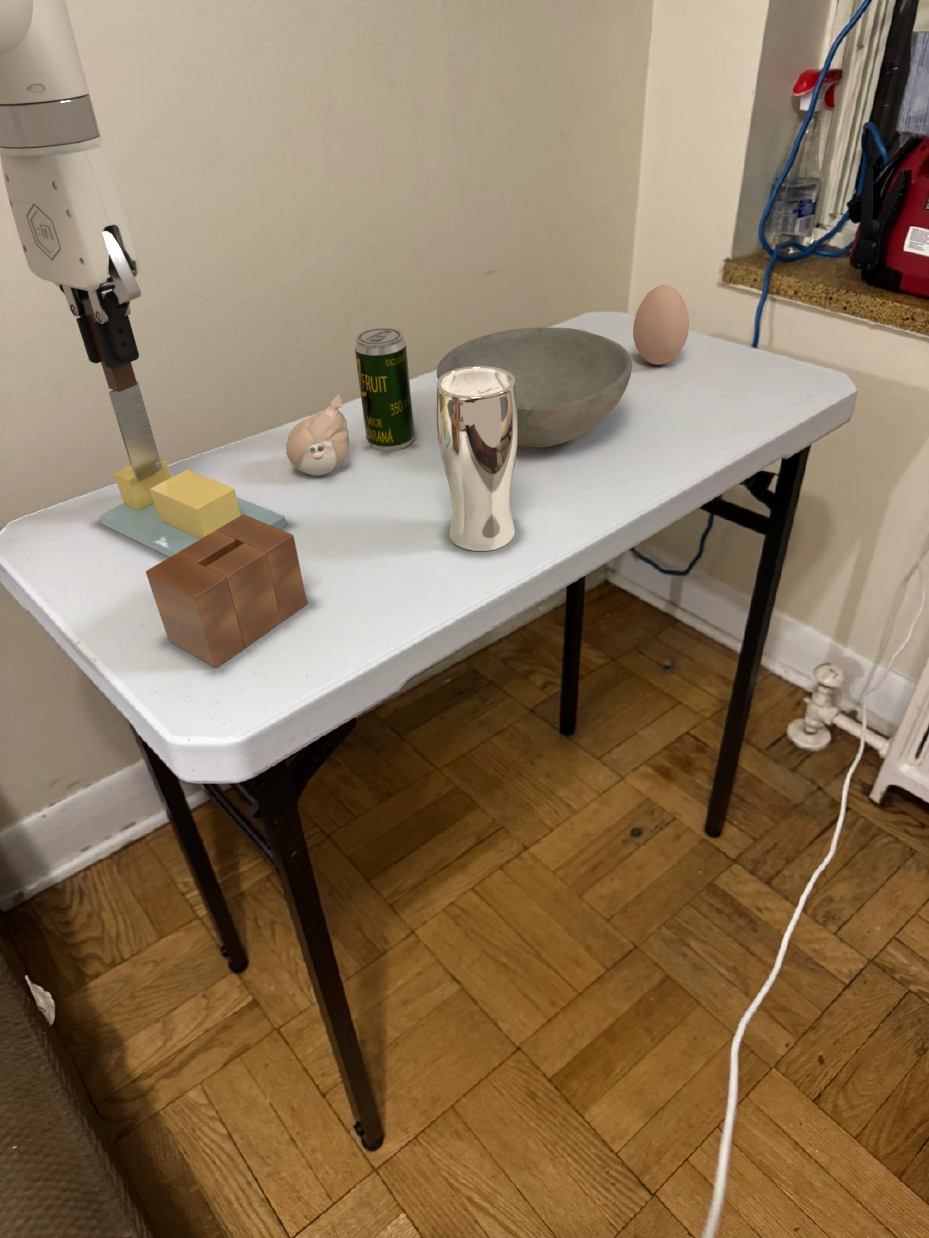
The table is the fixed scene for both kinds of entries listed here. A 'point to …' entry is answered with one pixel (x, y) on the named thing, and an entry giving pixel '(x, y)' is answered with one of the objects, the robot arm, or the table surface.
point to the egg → (661, 325)
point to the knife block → (228, 588)
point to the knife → (129, 411)
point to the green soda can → (385, 388)
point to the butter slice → (139, 486)
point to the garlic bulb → (319, 441)
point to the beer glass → (478, 453)
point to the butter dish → (165, 536)
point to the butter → (195, 503)
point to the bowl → (552, 378)
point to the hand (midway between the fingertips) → (114, 359)
